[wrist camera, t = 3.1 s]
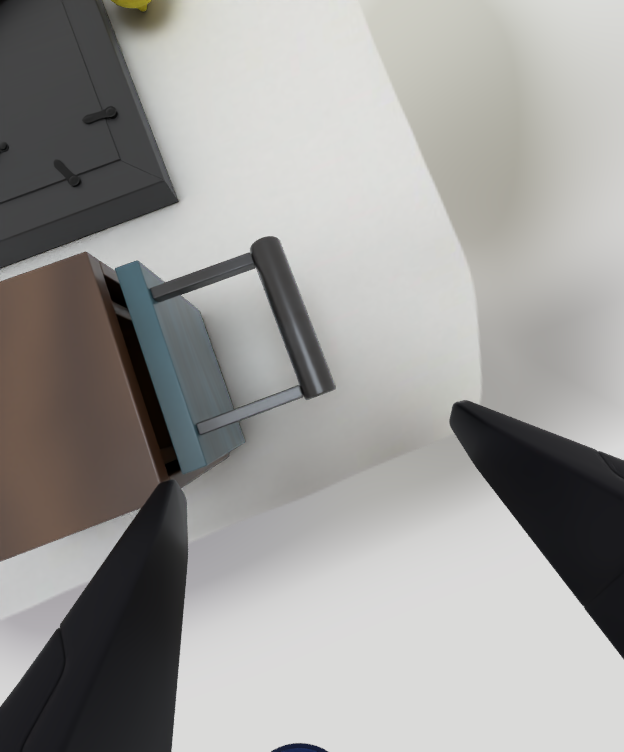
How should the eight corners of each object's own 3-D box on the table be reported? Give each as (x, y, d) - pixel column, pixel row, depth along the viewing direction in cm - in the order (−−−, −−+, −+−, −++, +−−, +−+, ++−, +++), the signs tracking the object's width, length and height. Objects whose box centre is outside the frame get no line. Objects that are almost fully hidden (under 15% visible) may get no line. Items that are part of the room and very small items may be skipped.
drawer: (284, 278, 22) (269, 208, 14) (334, 408, 21) (347, 413, 13) (37, 368, 22) (-125, 348, 14) (78, 505, 21) (-69, 571, 13)
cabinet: (180, 313, 23) (86, 250, 13) (229, 456, 22) (165, 498, 12) (11, 375, 22) (-213, 355, 13) (54, 522, 21) (-154, 620, 12)
